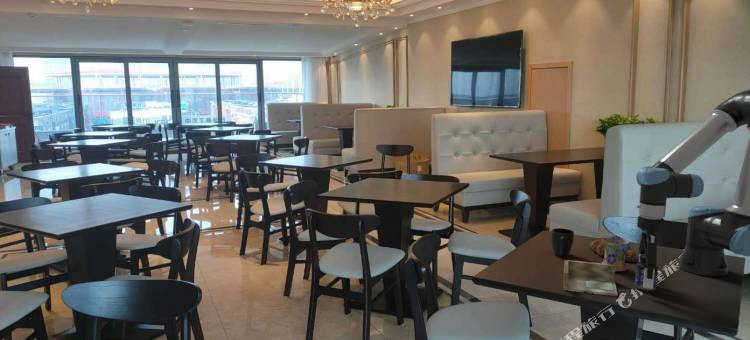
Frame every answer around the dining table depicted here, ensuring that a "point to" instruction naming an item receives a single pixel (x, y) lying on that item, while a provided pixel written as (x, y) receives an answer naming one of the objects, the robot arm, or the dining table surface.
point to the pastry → (599, 249)
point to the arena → (589, 277)
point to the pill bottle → (640, 275)
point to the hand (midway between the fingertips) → (644, 280)
